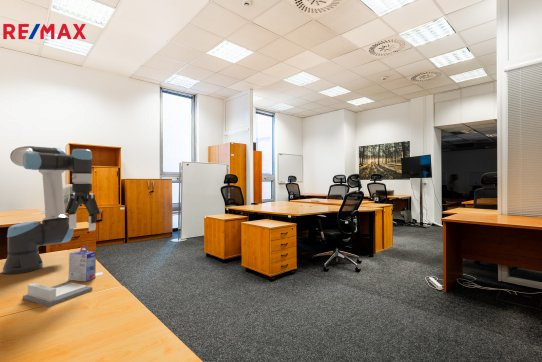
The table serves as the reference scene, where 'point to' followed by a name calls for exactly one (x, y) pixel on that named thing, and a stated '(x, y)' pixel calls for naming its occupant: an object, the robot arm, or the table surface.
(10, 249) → the robot arm
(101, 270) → the table surface
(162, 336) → the table surface
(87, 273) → the ink cartridge box
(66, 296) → the dock board
